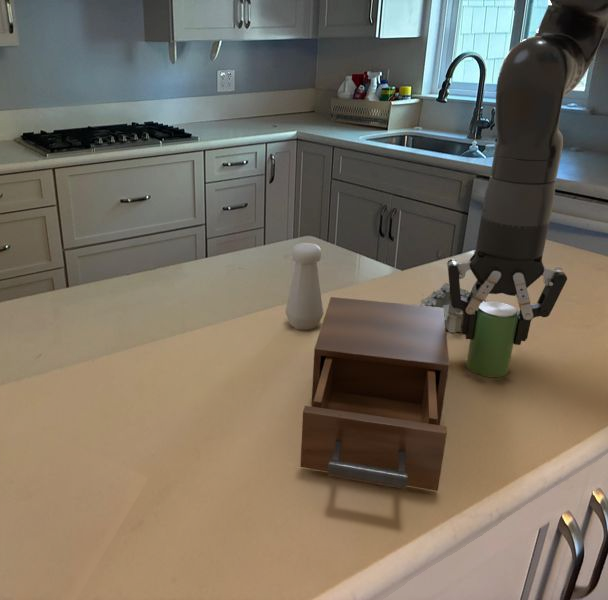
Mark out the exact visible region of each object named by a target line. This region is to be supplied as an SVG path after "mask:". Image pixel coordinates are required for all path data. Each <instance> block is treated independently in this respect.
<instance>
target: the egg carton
mask: <svg viewBox="0 0 608 600" xmlns="http://www.w3.org/2000/svg"><path fill="white" fill-rule="evenodd" d="M470 292H471V291H469V290H467V289H464V288H461V287H460V293H461V296H462V297H464V298H467V297H468V295H469V294H470ZM486 299H487V298H486ZM486 299H485V300H484V301H483V302H486ZM483 302H481V303H483ZM420 306H430V307H440V308H444V316H445V327H446V330H447V332H448V333H453V334H454V333H462V331H461V322H462V316H463V311H462V310H461V309H459V308H453V307H452V305H451V298H450V287H449V283H447V282H445V283H444V284H443V285H442V286H441V287H440V288H439V289H437V290H434V291H433V292H432V293H431V294H429V295H428V296H427V297H426V298H422V299H421V300H420Z"/></svg>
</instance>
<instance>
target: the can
mask: <svg viewBox="0 0 608 600" xmlns="http://www.w3.org/2000/svg"><path fill="white" fill-rule="evenodd" d="M519 312H520V310H519V309H517V308H516V307H515V306H513V305H511V304H509V303H505V302H501V301H491V300H490V301H485V302H483V303H481V304H480V305H479V307H478V308H477V310H476V311H475V313H476V319H475V325H474V330H473V336H472V340H471V339H469V344H468V351H467V356H466V361H465V365H466V368H467V369H468V370H469V371H471V372H472V373H474V374H476V375H479V376H482V377H488V378H500V377H504V376H506V375H507V374H508V373H509V367H510V363H511V360H512V359H511V358H512V353H513V348H514V345H515V344H514V339H515V334H516V329H517V324H518V319H519Z"/></svg>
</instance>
